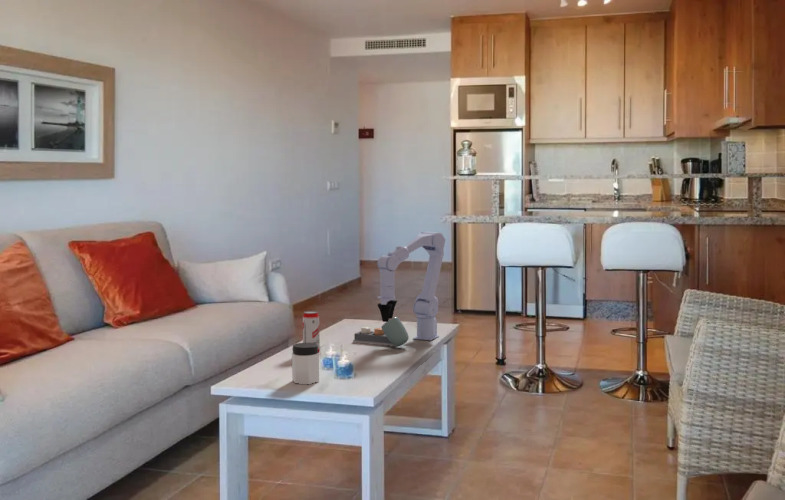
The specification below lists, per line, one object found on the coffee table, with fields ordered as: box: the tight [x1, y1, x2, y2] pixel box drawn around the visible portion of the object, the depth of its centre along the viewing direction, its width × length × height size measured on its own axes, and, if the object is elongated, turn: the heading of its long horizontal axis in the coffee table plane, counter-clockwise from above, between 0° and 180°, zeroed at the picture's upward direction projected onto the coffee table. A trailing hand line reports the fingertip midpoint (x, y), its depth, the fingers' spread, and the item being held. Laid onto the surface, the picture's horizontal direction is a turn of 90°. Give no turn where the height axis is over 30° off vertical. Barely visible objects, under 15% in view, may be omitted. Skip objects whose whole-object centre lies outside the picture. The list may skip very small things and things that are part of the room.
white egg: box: [360, 326, 372, 334], centre depth 319 cm, size 4×4×3 cm
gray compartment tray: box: [352, 330, 395, 347], centre depth 317 cm, size 8×20×3 cm, turn 65°
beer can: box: [302, 310, 321, 354], centre depth 295 cm, size 6×6×16 cm
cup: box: [380, 316, 410, 347], centre depth 306 cm, size 8×8×10 cm
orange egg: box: [373, 327, 384, 335], centre depth 317 cm, size 4×4×3 cm
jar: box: [291, 342, 320, 385], centre depth 255 cm, size 9×8×12 cm
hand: (387, 320), depth 310 cm, fingers open, 7 cm apart
